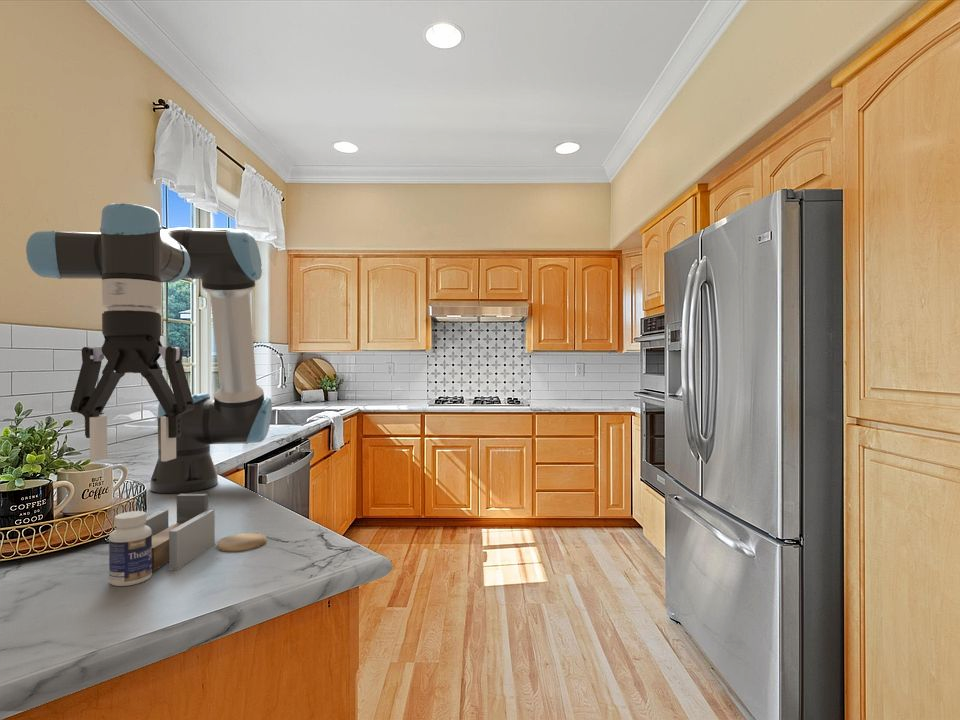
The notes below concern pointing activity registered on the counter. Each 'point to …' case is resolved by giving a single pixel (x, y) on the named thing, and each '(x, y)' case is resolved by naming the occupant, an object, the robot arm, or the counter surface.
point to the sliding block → (186, 510)
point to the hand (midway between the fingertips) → (133, 459)
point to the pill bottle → (130, 549)
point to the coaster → (241, 542)
